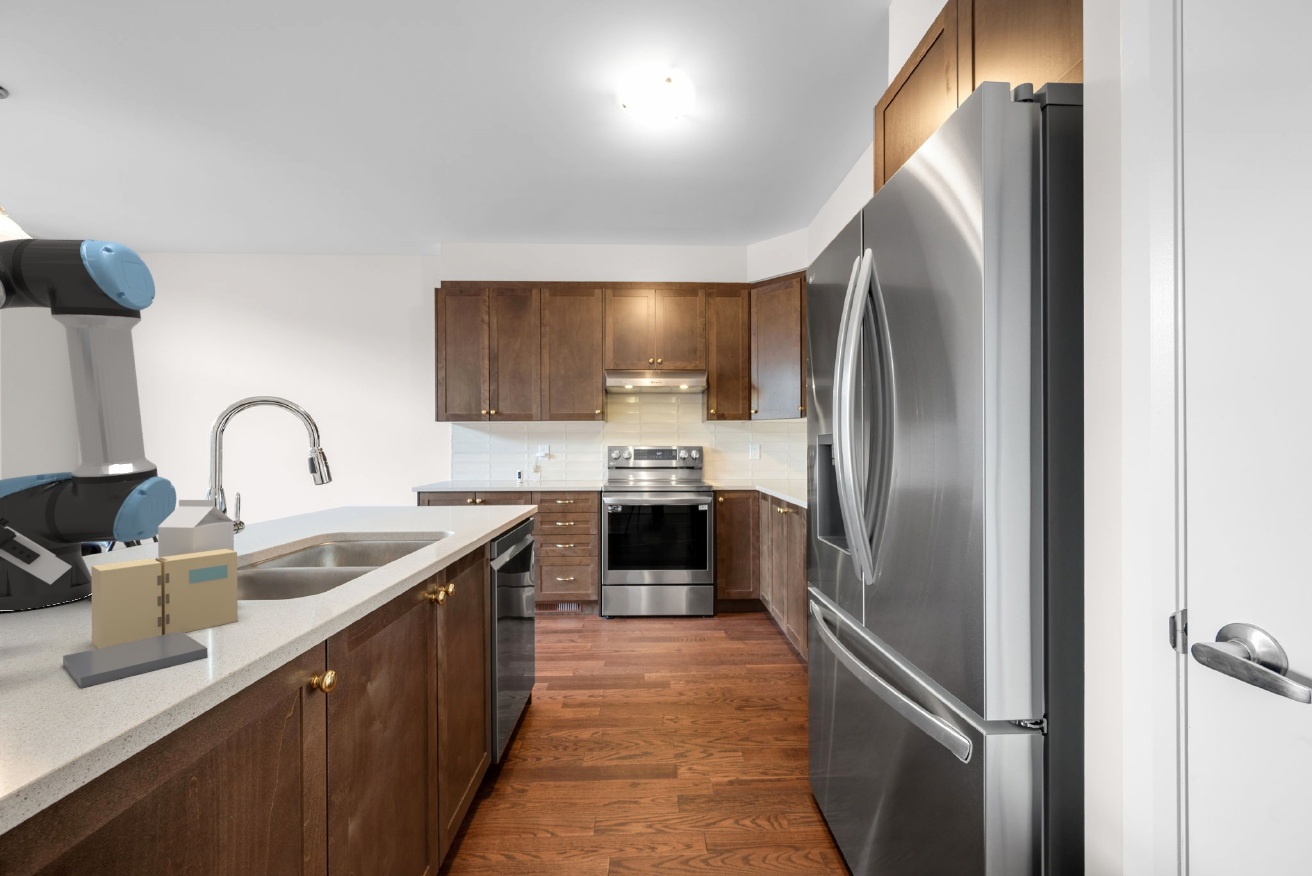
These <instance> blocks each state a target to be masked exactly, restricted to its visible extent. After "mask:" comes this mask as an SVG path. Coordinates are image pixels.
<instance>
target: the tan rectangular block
mask: <svg viewBox="0 0 1312 876" xmlns="http://www.w3.org/2000/svg"><path fill="white" fill-rule="evenodd" d="M91 577H92V596H91V644H92V645H93V646H94V647H95V648H96V649H98V648H103V647H108V646H112V645H117V644H122V643H127V642H131V641H136V640H141V639H146V638H151V637H155V636H160V635H162V596H161V563H160V562H158V561H156V559H153V558H143V559H135V560H128V561H127V560H126V561H121V562H120V561H119V562H111V563H104V564H96V565H95V564H94V565H91Z"/></svg>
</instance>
